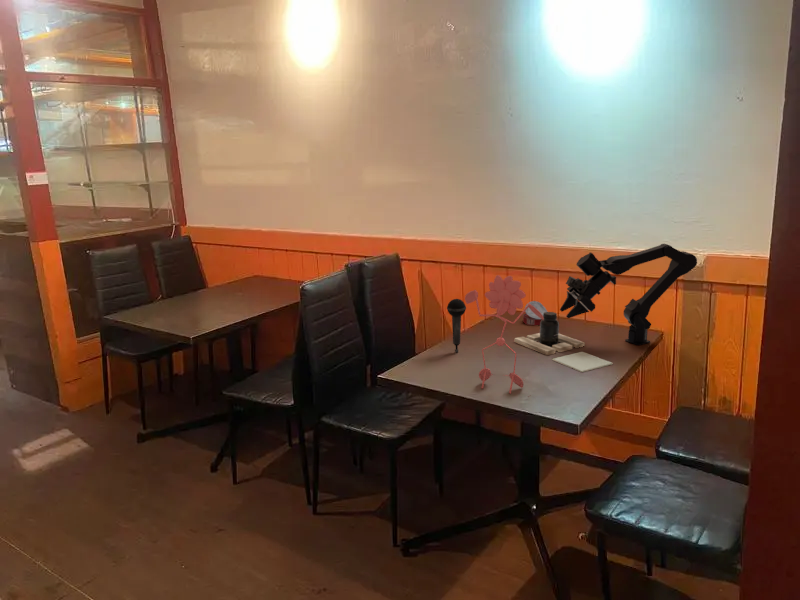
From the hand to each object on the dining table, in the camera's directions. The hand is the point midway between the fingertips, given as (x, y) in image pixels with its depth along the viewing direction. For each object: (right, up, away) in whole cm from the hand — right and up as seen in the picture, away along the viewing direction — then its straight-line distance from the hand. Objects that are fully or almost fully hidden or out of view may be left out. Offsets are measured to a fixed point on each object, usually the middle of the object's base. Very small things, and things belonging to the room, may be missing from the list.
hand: (563, 314), depth 230 cm
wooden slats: (-5, -11, +3) cm, 13 cm away
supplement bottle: (-5, -12, +3) cm, 13 cm away
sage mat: (+2, -16, -17) cm, 23 cm away
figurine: (-28, -22, -34) cm, 49 cm away
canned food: (-4, -5, +31) cm, 32 cm away
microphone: (-40, -14, -3) cm, 42 cm away
